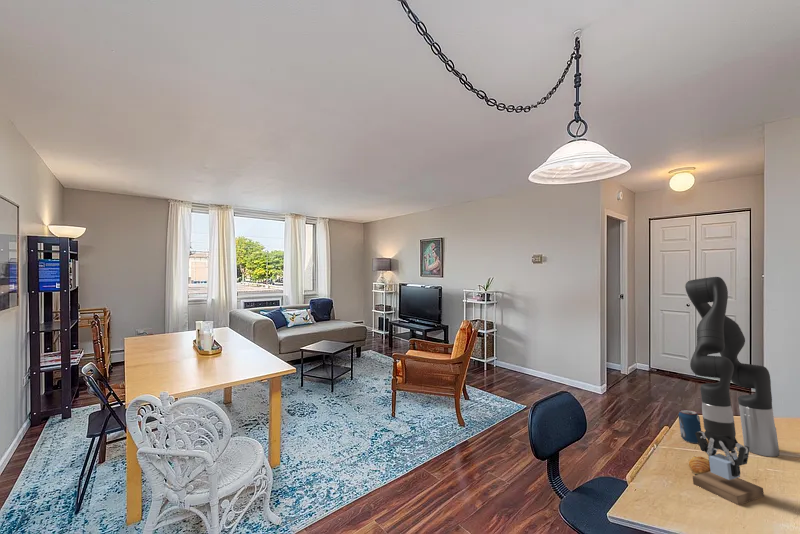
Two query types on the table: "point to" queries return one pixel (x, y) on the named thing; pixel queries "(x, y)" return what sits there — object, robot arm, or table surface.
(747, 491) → the walnut base
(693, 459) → the pastry
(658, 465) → the table surface
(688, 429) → the soda can
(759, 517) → the table surface
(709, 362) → the robot arm
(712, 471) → the blue cube
